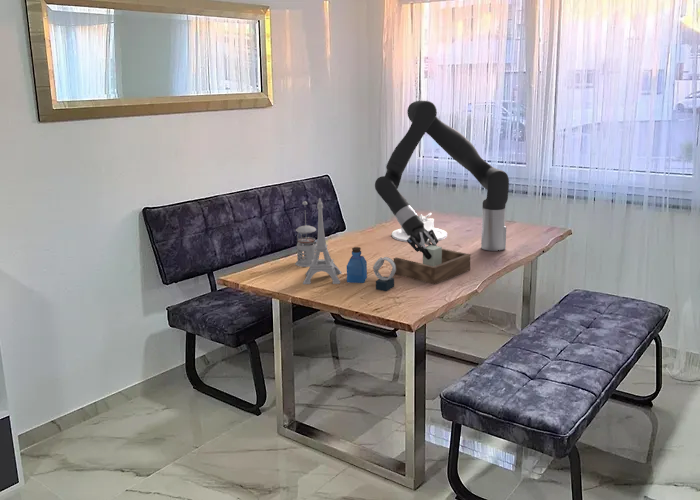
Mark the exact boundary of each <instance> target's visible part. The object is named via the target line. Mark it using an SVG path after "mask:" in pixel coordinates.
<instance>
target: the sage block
mask: <svg viewBox="0 0 700 500" xmlns="http://www.w3.org/2000/svg"><path fill="white" fill-rule="evenodd" d="M425 247H426V248H427V250H428V251H429V253H430V254H431V255H432V257H431V258H430V259H429V260H428V259H427V258H426V257H425V256H424V255H423V254H422V264H426V265H430V266H436V265H439V264H441V263H442V249H443V247H442V246H440V245H439V246H438V245H437V246H434V245H429V246H428V245H425Z"/></svg>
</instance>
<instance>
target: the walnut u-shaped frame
mask: <svg viewBox="0 0 700 500" xmlns="http://www.w3.org/2000/svg"><path fill="white" fill-rule="evenodd" d="M393 261H394V263H395V266H396V272H395V274H394V275H397V276H402V277H404V278H409V279H413V280H417V281H419V282H423V283H428V284H432V285H436V284H439V283H441V282H444V281H446V280H448V279H449V280H450V279H451V278H454V277H455V276H459V275H460V274H462V273H463V274H464V273H466V272H468V271H470V270H471V254H470V253H465V252H460V251H456V250H451V249H446V248H442V263H441V264H439V265H436V266H430V265H426V264H423V262H422V263H421V262H418V261H412V260H408V259H405V258H400V257H393ZM467 270H468V271H467ZM465 271H466V272H465ZM458 274H459V275H458Z"/></svg>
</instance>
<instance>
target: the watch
mask: <svg viewBox="0 0 700 500" xmlns="http://www.w3.org/2000/svg"><path fill="white" fill-rule="evenodd" d="M385 261H387V262H388V263H389V264H390V265H391V271H390V274H389V275H388V276H383V275H381V273H380V272H379V270H380V269H381V268H382V267H383V265H384V263H385ZM372 269H373V272H374V275H375V277H376V278H378V279H377V280H375V290H377V291H383V292H388V291H390V290H391V289H393V288H395V278H394V276H395V275H396V274H395V272H396V266H395V263H394V259H392V258H391V257H387V256H384V257H383V256H382V257H380V258H378V259H377V260H376V261H375V263H374V264H373V266H372Z"/></svg>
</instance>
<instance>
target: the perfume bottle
mask: <svg viewBox="0 0 700 500" xmlns="http://www.w3.org/2000/svg"><path fill="white" fill-rule="evenodd" d="M351 249H352V251H351V257H350V258H349V260H348V263H347V265H346V282H347V283H351V284H353V283H356V284H364V283H366V280H367V278H368V265H367V263H368V262H367V260H366V258H365V256H364V255H362V250H361V249H362V248H361V247H359V246H354V247H352V248H351Z"/></svg>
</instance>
